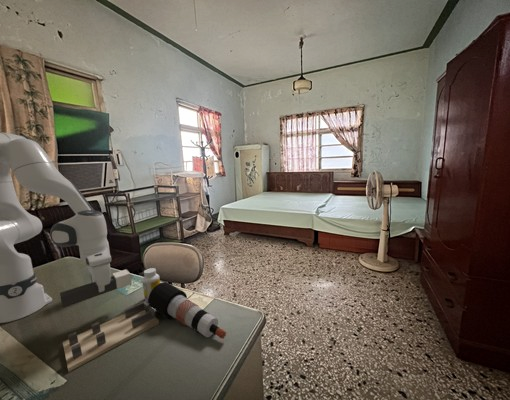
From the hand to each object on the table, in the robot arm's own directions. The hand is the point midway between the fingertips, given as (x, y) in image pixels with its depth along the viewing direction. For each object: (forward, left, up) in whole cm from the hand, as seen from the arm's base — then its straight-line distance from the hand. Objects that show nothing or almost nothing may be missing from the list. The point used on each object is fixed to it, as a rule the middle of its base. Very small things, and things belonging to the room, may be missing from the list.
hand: (99, 288), depth 82 cm
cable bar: (0, -1, -2) cm, 2 cm away
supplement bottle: (+3, +17, -12) cm, 21 cm away
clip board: (+14, 0, -11) cm, 18 cm away
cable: (+29, +20, -12) cm, 37 cm away
